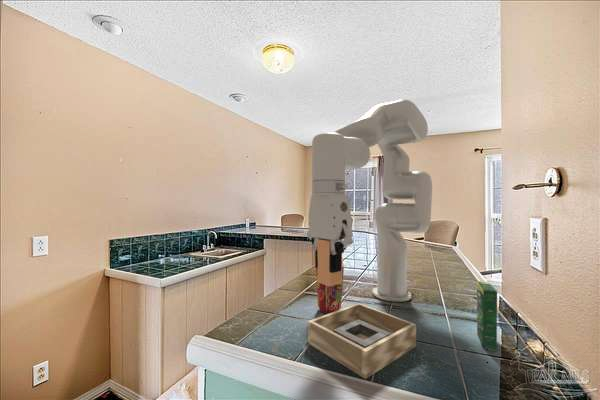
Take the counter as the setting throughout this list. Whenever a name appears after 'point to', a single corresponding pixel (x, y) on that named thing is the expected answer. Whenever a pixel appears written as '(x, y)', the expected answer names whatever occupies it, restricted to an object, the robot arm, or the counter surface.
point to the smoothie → (329, 295)
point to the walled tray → (362, 338)
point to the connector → (326, 264)
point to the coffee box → (487, 315)
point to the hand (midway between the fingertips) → (328, 268)
